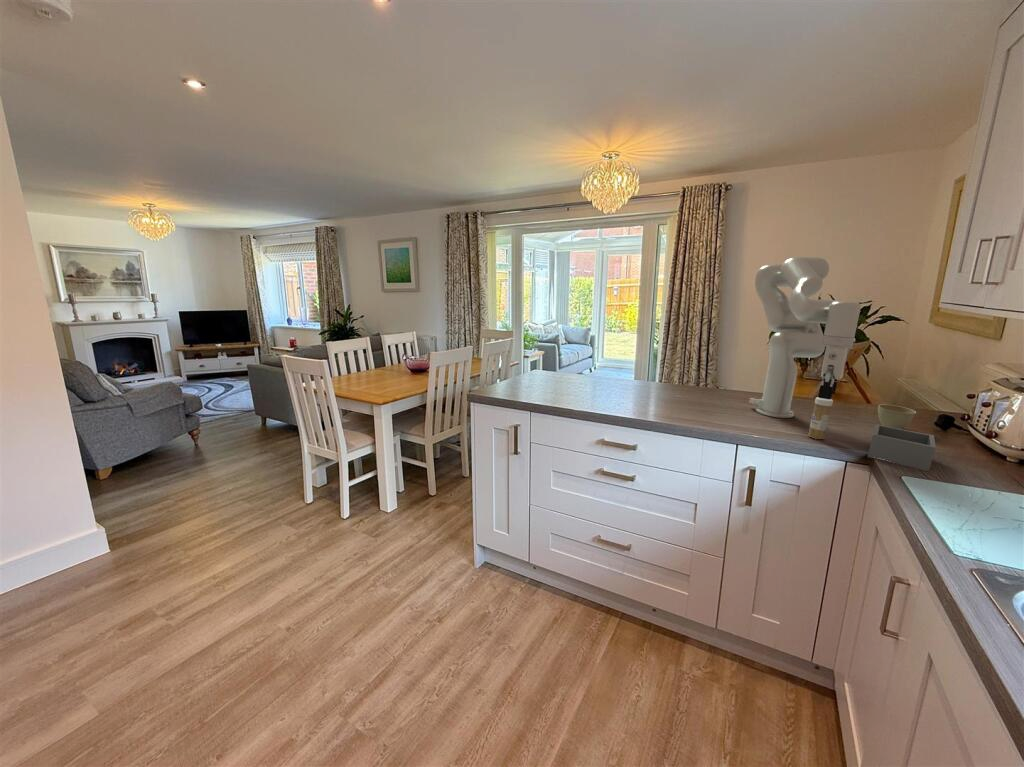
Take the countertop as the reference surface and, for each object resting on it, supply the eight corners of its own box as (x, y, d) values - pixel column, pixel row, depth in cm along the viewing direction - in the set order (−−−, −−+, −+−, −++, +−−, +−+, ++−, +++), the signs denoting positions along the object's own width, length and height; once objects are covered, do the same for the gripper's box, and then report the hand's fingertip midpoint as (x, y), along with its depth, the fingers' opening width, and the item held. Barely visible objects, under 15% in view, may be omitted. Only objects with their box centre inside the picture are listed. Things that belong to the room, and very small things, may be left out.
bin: (867, 457, 123) (873, 434, 121) (870, 445, 132) (875, 424, 130) (928, 471, 114) (935, 447, 113) (927, 457, 124) (933, 435, 122)
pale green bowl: (867, 424, 152) (871, 405, 150) (884, 421, 155) (889, 403, 153) (899, 434, 143) (905, 414, 141) (917, 431, 146) (923, 411, 144)
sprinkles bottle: (803, 435, 139) (812, 396, 136) (816, 435, 139) (825, 396, 136) (814, 440, 134) (823, 400, 131) (827, 440, 135) (837, 400, 132)
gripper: (850, 345, 120) (838, 403, 124) (855, 341, 133) (844, 393, 136) (818, 342, 125) (807, 398, 129) (826, 338, 138) (816, 389, 141)
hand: (826, 395), depth 133 cm, fingers open, 9 cm apart
